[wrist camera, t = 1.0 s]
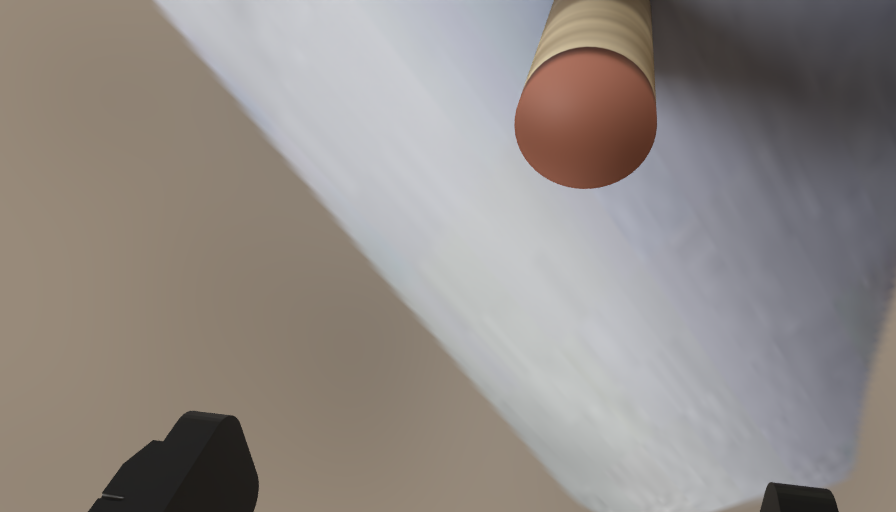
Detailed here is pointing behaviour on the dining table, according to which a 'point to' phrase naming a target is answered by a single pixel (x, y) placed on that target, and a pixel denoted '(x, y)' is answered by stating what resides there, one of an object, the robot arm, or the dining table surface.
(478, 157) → the dining table surface
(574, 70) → the tall dowel
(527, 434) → the dining table surface
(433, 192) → the dining table surface
